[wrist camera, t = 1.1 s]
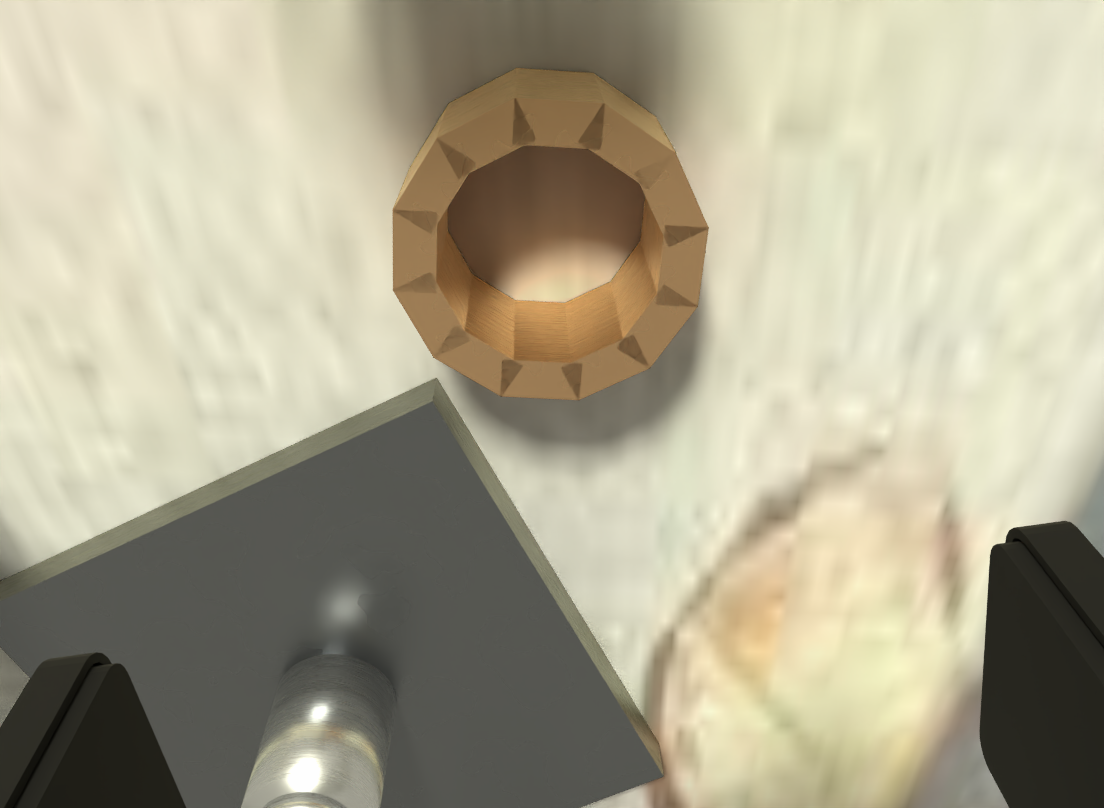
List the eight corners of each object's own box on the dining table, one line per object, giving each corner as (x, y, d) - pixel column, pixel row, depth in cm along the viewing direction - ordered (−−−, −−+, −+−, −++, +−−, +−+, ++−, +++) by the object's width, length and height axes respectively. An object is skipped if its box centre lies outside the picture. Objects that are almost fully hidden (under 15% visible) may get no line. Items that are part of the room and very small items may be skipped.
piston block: (436, 377, 29) (412, 513, 23) (658, 743, 36) (687, 926, 30) (-8, 584, 32) (-137, 755, 26) (273, 887, 39) (225, 1082, 33)
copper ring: (612, 17, 25) (626, 39, 22) (722, 267, 28) (750, 323, 25) (358, 149, 26) (332, 191, 23) (489, 375, 29) (484, 442, 26)
